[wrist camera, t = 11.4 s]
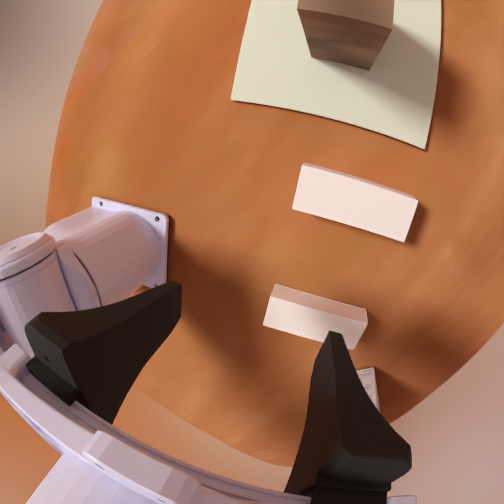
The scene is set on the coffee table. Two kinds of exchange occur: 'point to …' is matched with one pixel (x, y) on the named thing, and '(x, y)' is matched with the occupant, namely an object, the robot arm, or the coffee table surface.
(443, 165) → the coffee table surface
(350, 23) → the walnut block
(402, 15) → the mat
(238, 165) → the coffee table surface
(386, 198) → the slot blocks
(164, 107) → the coffee table surface
